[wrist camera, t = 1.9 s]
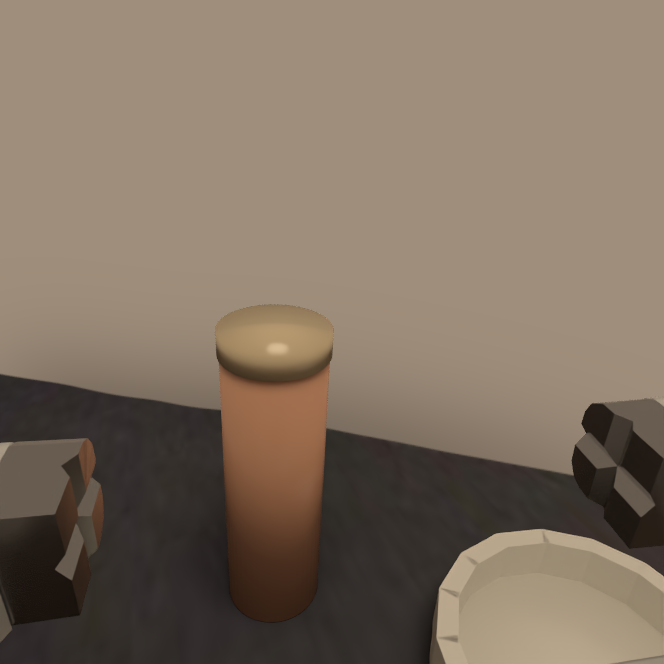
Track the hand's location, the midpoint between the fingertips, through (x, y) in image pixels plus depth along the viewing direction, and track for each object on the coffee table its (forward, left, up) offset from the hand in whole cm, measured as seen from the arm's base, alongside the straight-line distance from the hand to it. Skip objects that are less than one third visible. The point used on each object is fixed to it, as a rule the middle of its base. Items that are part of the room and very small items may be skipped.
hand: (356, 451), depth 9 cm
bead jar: (0, +15, -21) cm, 26 cm away
